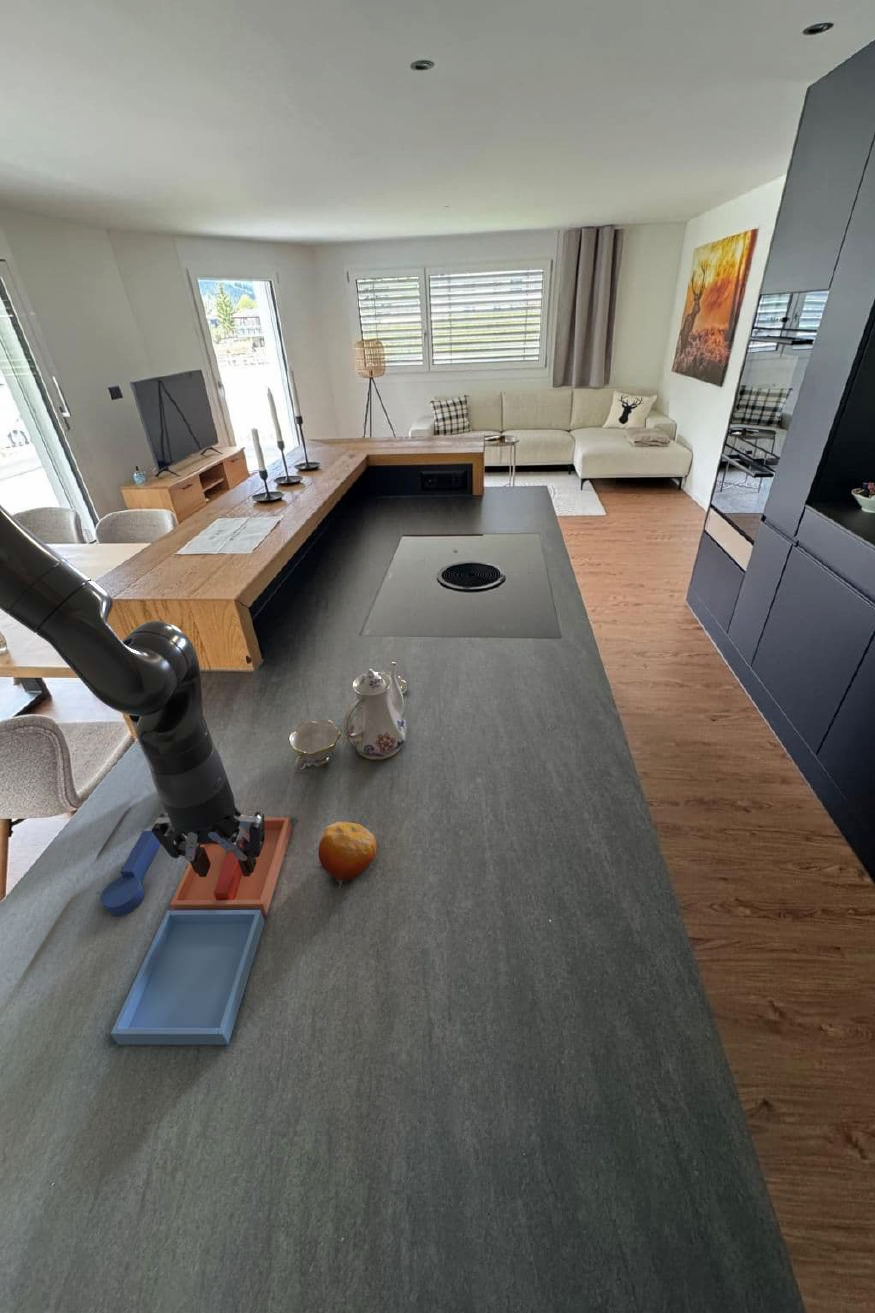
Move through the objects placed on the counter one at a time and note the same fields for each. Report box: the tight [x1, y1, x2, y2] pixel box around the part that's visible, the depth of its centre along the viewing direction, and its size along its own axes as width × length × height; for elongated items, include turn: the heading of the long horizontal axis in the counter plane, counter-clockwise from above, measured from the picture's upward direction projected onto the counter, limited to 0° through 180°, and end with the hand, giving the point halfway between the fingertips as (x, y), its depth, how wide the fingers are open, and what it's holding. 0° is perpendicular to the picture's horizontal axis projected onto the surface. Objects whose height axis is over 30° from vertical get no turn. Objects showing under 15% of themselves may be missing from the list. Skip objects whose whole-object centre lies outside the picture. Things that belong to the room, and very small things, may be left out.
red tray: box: [169, 816, 293, 916], centre depth 78 cm, size 12×14×2 cm
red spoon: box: [213, 827, 250, 900], centre depth 77 cm, size 12×5×3 cm, turn 1°
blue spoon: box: [100, 830, 162, 917], centre depth 77 cm, size 12×5×3 cm, turn 179°
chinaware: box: [287, 662, 409, 772], centre depth 97 cm, size 28×17×17 cm, turn 150°
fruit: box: [317, 821, 377, 890], centre depth 77 cm, size 8×8×8 cm
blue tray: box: [110, 910, 266, 1046], centre depth 65 cm, size 12×14×2 cm
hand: (227, 871), depth 75 cm, fingers open, 5 cm apart
